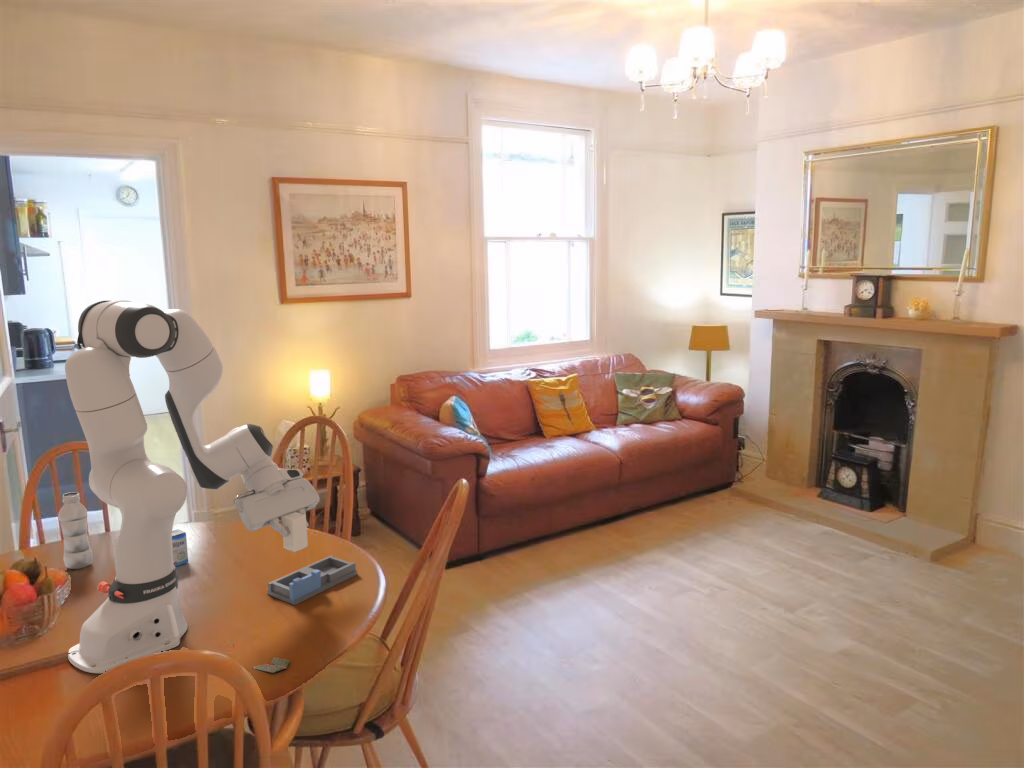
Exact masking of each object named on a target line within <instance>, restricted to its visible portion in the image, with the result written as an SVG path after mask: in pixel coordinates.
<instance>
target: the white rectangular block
mask: <svg viewBox="0 0 1024 768" xmlns="http://www.w3.org/2000/svg"><path fill="white" fill-rule="evenodd" d="M281 519H282V520H281V525H282V526H284V527H288V528H289V530H290V532H291V533H290V534H289V536H286V537H282V544H283V545H282V546H283V549H284V550H288V551H290V552H293V553H296V552H298V551H301V550H302V549H305V548H307V547H308V546H309V543H308V542H309V541H308V527H307V525H306V521H307V514H306V515H304V514H301V513H297V512H293V513H290V514H288V515H285V516H282V517H281Z"/></svg>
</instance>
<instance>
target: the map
mask: <svg viewBox="0 0 1024 768" xmlns="http://www.w3.org/2000/svg"><path fill="white" fill-rule="evenodd" d="M234 645H235V644H234V643H232V647H234ZM289 663H290V659H286V658H280V657H276V656H275V657H274V656H273V658H272V660H271V661H270V662H266V663H263V664H258V665H255V666H252V667H251V669H255V670H258V671H263V672H267V673H268V672H269V673H276V672H279V671H281V670H284V669H287V667H288V665H289Z"/></svg>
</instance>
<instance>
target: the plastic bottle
mask: <svg viewBox="0 0 1024 768" xmlns="http://www.w3.org/2000/svg"><path fill="white" fill-rule="evenodd" d="M80 501H81V497H80V492H76V491H72V492H66V493H63V494H62V503H63V505H62V506H61V508H60V509H59V511H58V513H57V514H58V516H57V518H58V520H59V521H58V522H59V525H60V528H61V532H62V538H63V550H64V551H63V554H62V555H63V559H62V560H63V564H64V566H65V567H66V568H67V569H68V570H69V569H70V570H79V569H82V568H83V569H84V568H86V567H88V566H90V565H91V564H92V562H93V560H94V558H93V556H94V554H93V551H92V548H91V545H90V540H89V537H88V509H87V508H86V507H85V505H83V504H82V503H81V502H80Z"/></svg>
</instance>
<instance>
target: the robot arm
mask: <svg viewBox="0 0 1024 768" xmlns="http://www.w3.org/2000/svg"><path fill="white" fill-rule="evenodd" d="M77 331H78V332H77V333H78V336H77V339H76V344H77V346H78V349H77V350H76V351H74V352H72V353H71V354H70V355H69V356H68V357H67V359H65V363H64V372H65V380H66V384H67V389H68V393H69V397H70V400H71V402H72V403H71V404H72V405H73V408H74V410H75V413H76V416H77V419H78V421H79V425H80V426H81V430H82V432H83V434H84V438H85V439H86V443H87V447H88V451H89V457H90V458H89V459H90V467H91V469H90V472H89V474H88V485H89V488H90V490H91V491H92V492H93V494H94V495H95V496H96V497H97V498H99V499H100V500H101V501H102V502H103V503H104V504H107V505H109V506H111V507H114V508H117V509H119V511H120V513H121V525H120V530H119V534H118V535H117V536H115V539H114V540H113V543H112V553H113V563H114V571H115V576H114V578H113V581H112V583H108V582H106V581H101V582H99V583H98V585H96V589H97V591H99V592H101V593H102V594H107V593H108V597H107V598H106V599H105V601H103V603H101V605H100V606H98V608H97V609H96V610H95V611H94V612H93V613H92V614H91V615H90V616H89V617H88V618H87V619H86V620H85V621H84V622H83V624H82V626H81V627H80V633H79V643H77V644H75V645H73V646H72V647H70V648H69V649H68V652H67V659H68V661H69V662H70V664H72V665H73V666H74V667H75V668H77V669H78V670H81V671H83V672H86V673H90V674H105V673H106V672H105V671H107V670H109V669H111V668H113V667H115V666H117V665H120V664H122V663H125V662H127V661H129V660H132V659H135V658H138V657H141V656H144V655H148V654H152V653H156V652H160V653H162V652H161V651H163V652H166V651H168V650H171V649H174V648H176V647H178V646H179V645H180V644H181V638H182V637H183V636H184V634H185V633H186V632H187V630H188V626H189V625H188V623H187V621H186V619H185V617H184V614H183V610H182V607H181V603H180V599H179V596H178V595H179V594H178V590H177V589H178V587H179V583H178V571H177V567H175V565H174V562H173V548H172V531H173V527H174V523H175V517H176V514H177V513H178V512H179V511H181V509H182V507H183V506H184V505H185V502H186V500H187V497H188V486H187V483H186V481H185V479H184V478H183V477H182V476H181V475H180V474H178V473H177V472H176V471H175V470H173V469H172V468H170V467H169V466H166V465H164V464H161V463H157V462H154V461H152V460H151V459H149V457H148V455H147V454H146V450H145V435H146V434H147V432H148V431H147V430H148V423H147V420H146V417H145V415H144V411H143V408H142V406H141V404H140V400H139V397H138V395H137V391H136V389H135V386H134V383H133V382H132V379H131V375H130V364H131V359H132V358H137V359H142V358H143V359H145V358H150V357H154V356H155V357H156V358H158V360H159V362H160V364H161V366H162V367H163V369H164V371H165V372H166V375H167V378H168V384H169V385H168V390H167V391H166V393H165V394H164V400H165V404H166V408H167V411H168V414H169V416H170V420H171V422H172V424H173V427H174V430H175V432H176V435H177V437H178V440H179V442H180V445H181V447H182V449H183V451H184V453H185V457H186V460H187V465H188V470H189V471H188V472H189V473H190V476H191V477H192V479H193V481H194V482H195V484H196V485H198V486H200V488H202V489H203V488H204V489H208V490H218V489H219V488H221V487H222V486H224V485H226V483H229V481H230V480H232V479H233V478H235V477H237V476H241V478H242V481H243V485H244V486H245V488H246V490H247V491H246V492H244V493H239V494H238V495H237V494H236V496H235V498H234V499H233V505H234V507H235V509H236V510H237V511H238V514H239V517H240V519H241V522H242V524H243V527H244V528H245V529H246V530H247V531H249V532H254V531H256V530H259V529H261V528H264V527H266V526H270V528H271V529H272V530H274V531H276V532H277V533H279V534H280V536H281V537H282V538H283V537H286V536H289V534H290V533H291V532H290V530H289V528H288V527H284V526H282V523H280V522H281V521H282V519H281V517H282V516H285V515H288V514H290V513H293V512H297V513H301V514H304V515H306V516H307V511H309V510H311V509H314V508H316V506H317V505H318V503H319V502H320V494H318V492H317V490H316V489H315V487H314V486H313V485H312V484H311V482H310V481H309V480H308V479H307V478H305V477H303V476H304V473H303V471H302V470H301V469H299V468H284V467H283V468H281V467H279V466H278V464H276V462H274V461H273V459H272V458H271V456H272V452H273V449H274V446H273V444H272V442H270V441H269V439H268V438H267V436H266V434H265V431H264V430H263V428H262V427H261V426H260V425H256V424H252V423H246V424H243V425H241V426H237V427H235V428H233V429H231V430H229V431H228V432H226V434H225V435H223V436H221V437H220V438H218V439H216V440H213V441H212V442H210V443H209V444H205V445H204V444H202V442H201V439H200V437H199V433H198V432H197V428H196V427H195V424H194V416H195V414H196V412H197V410H198V409H199V408H200V406H201V405H202V404H203V402H204V401H205V400H207V399H208V397H210V396H211V394H212V393H213V392H214V391H215V389H216V388H217V386H218V385H219V384H220V381H221V379H222V375H223V371H224V370H223V368H224V367H223V364H222V363H223V362H222V360H221V358H220V356H219V353H218V352H217V350H216V348H215V346H214V345H213V343H212V341H211V339H210V338H209V336H207V334H206V332H205V331H204V329H203V328H202V327H201V326H200V324H199V323H198V322H197V320H195V318H193V317H192V315H191V314H190V313H188V312H187V311H186V310H184V309H181V308H180V309H179V308H171V309H166V310H161V309H160V308H159V307H156V306H154V305H152V304H148V303H139V302H133V301H131V300H101V301H97V302H94V303H92V304H90V305H88V306H87V307H86V308H84V310H82V312H81V314H80V315H79V319H78V323H77ZM306 525H307V528H308V527H309V526H310V525H309V522H308V521H307V520H306ZM68 653H70V654H68ZM104 672H105V673H104Z"/></svg>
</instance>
